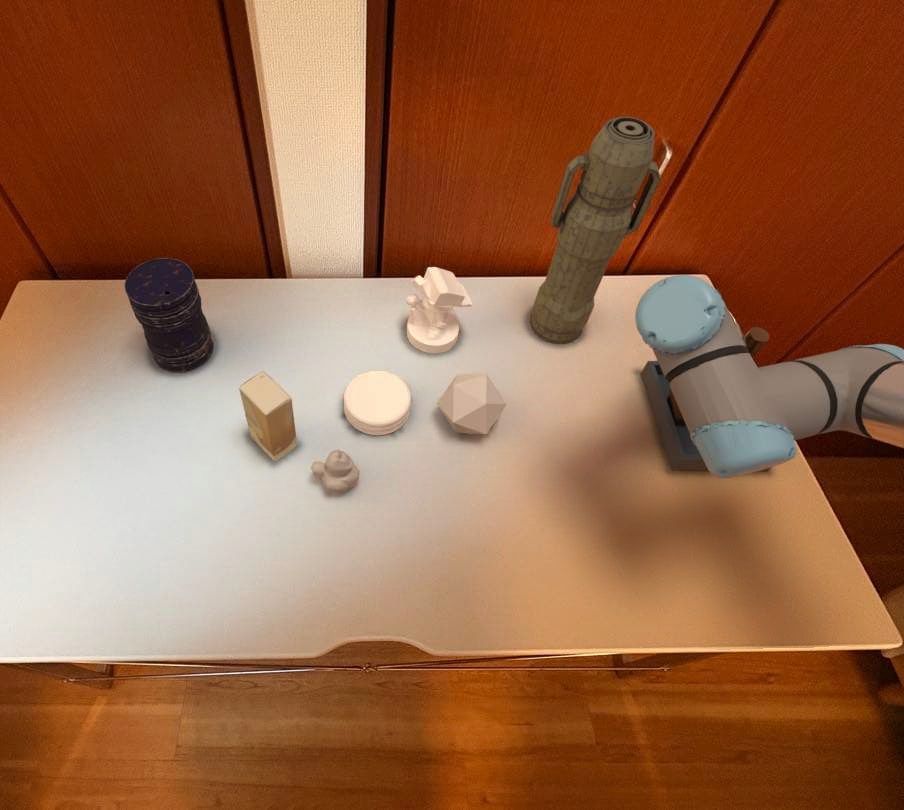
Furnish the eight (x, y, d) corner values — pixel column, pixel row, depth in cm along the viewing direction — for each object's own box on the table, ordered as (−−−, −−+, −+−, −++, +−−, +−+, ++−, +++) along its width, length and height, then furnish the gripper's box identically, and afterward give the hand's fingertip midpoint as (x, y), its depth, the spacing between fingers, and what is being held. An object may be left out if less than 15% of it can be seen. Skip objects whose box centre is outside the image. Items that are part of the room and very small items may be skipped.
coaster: (423, 412, 92) (425, 399, 90) (373, 448, 89) (373, 435, 86) (380, 372, 97) (381, 358, 94) (330, 405, 93) (329, 391, 90)
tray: (767, 471, 87) (780, 460, 84) (672, 470, 87) (681, 459, 84) (726, 373, 97) (735, 361, 95) (640, 373, 97) (647, 360, 95)
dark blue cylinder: (143, 342, 100) (113, 273, 88) (198, 318, 103) (177, 248, 91) (167, 383, 95) (139, 316, 83) (224, 356, 99) (205, 288, 86)
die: (481, 391, 96) (449, 354, 90) (525, 406, 89) (493, 367, 83) (451, 435, 95) (416, 400, 88) (493, 454, 88) (458, 418, 81)
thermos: (597, 344, 101) (691, 147, 72) (525, 344, 100) (591, 147, 72) (585, 305, 106) (668, 107, 77) (517, 305, 106) (575, 107, 77)
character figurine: (399, 319, 104) (404, 265, 94) (452, 308, 105) (462, 254, 95) (416, 358, 99) (422, 305, 89) (471, 346, 100) (483, 293, 90)
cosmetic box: (249, 435, 90) (235, 385, 80) (272, 419, 92) (262, 367, 82) (276, 464, 87) (265, 415, 77) (299, 446, 89) (292, 396, 79)
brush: (710, 402, 93) (782, 322, 78) (717, 429, 90) (793, 352, 76) (664, 397, 93) (727, 316, 78) (670, 424, 90) (736, 346, 76)
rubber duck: (357, 500, 84) (356, 471, 77) (309, 495, 84) (305, 466, 78) (361, 466, 87) (361, 435, 81) (315, 461, 87) (311, 431, 81)
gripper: (630, 322, 75) (673, 358, 93) (728, 415, 67) (754, 435, 85) (681, 275, 72) (715, 322, 90) (789, 367, 64) (803, 398, 82)
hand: (734, 377), depth 88 cm, fingers closed on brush, 2 cm apart
